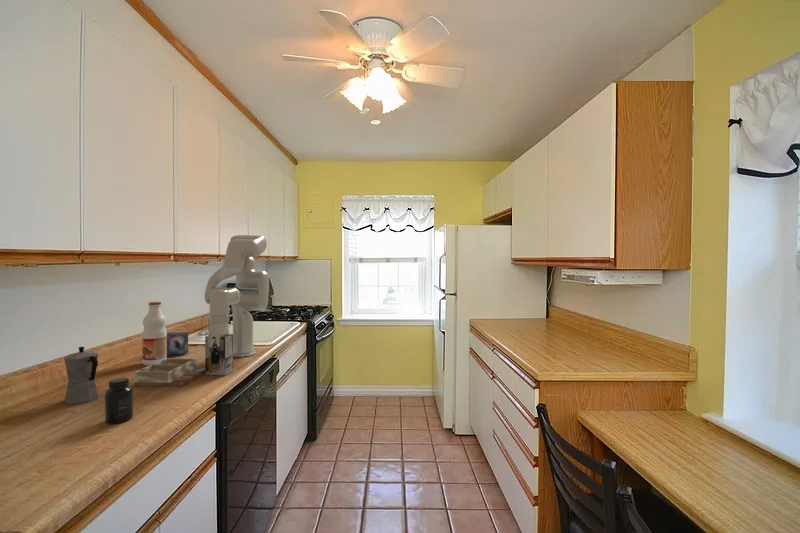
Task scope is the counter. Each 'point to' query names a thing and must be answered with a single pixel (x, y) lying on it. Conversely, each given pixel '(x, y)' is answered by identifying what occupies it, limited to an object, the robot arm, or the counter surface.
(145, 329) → the fruit juice
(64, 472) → the counter surface
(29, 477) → the counter surface
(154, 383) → the beige divided tray
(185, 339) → the small box
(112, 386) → the supplement bottle
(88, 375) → the coffeepot
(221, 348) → the coffee box
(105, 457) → the counter surface
